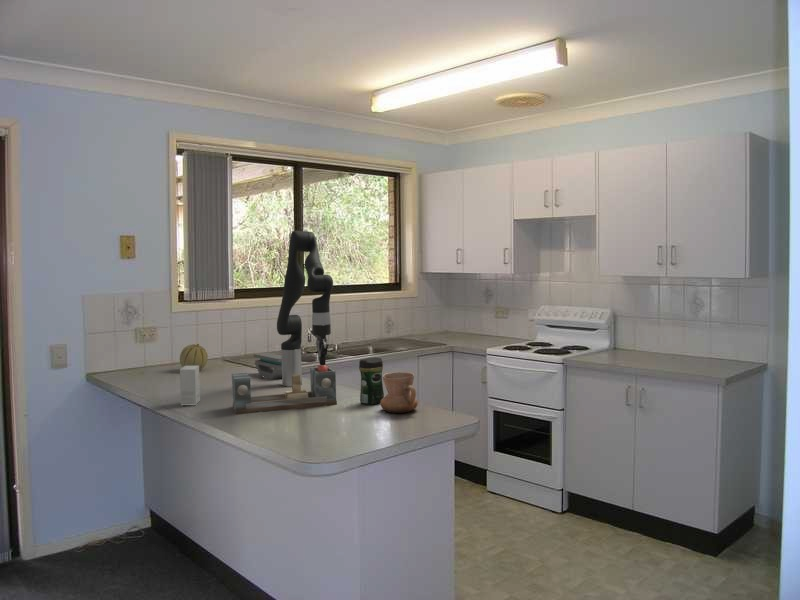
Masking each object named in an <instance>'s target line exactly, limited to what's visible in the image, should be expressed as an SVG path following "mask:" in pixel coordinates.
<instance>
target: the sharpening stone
mask: <svg viewBox="0 0 800 600" xmlns="http://www.w3.org/2000/svg"><path fill="white" fill-rule="evenodd" d="M253 358H256V359H257V358H258V359H257V360H254V365H255V367H256V369H257V372H258V373H259V376H260V375H261V376H264V377H263V378H265V377H267V379H269V378H270V380H276V378H277V379H282V357H281V354H278V353H273V352H268V351H267V352H261V353H254V354H253ZM261 376H260V377H261Z"/></svg>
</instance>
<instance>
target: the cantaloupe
mask: <svg viewBox="0 0 800 600" xmlns="http://www.w3.org/2000/svg"><path fill="white" fill-rule="evenodd" d="M208 357H209V355H208V352H207V350H206V348H204V347H203V346H201V345H200V343H196V344H189V345H187V346H185V347H183V349H182V350H181V352H180V354H179V364H180V365H181V368H183V367H184V366H198V365H199V371H201V370H202V369H203V368H205V366H206V365H207V363H208Z"/></svg>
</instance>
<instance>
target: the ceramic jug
mask: <svg viewBox="0 0 800 600" xmlns="http://www.w3.org/2000/svg"><path fill="white" fill-rule="evenodd" d="M414 379H415V374H414V373H413V372H409V371H407V372H406V371H394V372H393V371H392V372H387V373H384V374H382V382H383V384H384V386H385V389H386V392H387V395H384V398H383V399H382V400H381V402H380V403H379V405H380V407H381V408H382V409H383V410H384V411H386V412H388V413H394V414H399V413H400V414H401V413H402V414H404V413H408V412H411V411H413V410H415V409H416V408H417V407H418V404H419V401H418V399H417V391H416V387H415V386H413V384H414Z"/></svg>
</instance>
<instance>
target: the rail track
mask: <svg viewBox="0 0 800 600" xmlns="http://www.w3.org/2000/svg"><path fill="white" fill-rule="evenodd" d="M309 370H310V371H309V373H310V375H309V376H310V391H306V392H307V393H308V398H300V399H289V400H286V399H285V393H277V394H267V395H266V394H265V395H256V396H255V395H254V396H251V395H252V393H251V390H252V389H251V377H250V374H248V373H247V372H242V373H232V374H231V382H232V385H231V386H232V387H231V388H232V407H234V408H233V410H235V411H234V413H235V414H236V413H242V414H248V413H247V412H252V413H257V412H256V411H263V412H271V410H273V411H281V410H293V409H303V408H315V407H325V406H324V405H326V406H333V405H332V404H336V405H338V401H337V381H336V370H335V369H333V368H331V367H330V366H327V370H328V371H326V372H318V367H310V368H309Z"/></svg>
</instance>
